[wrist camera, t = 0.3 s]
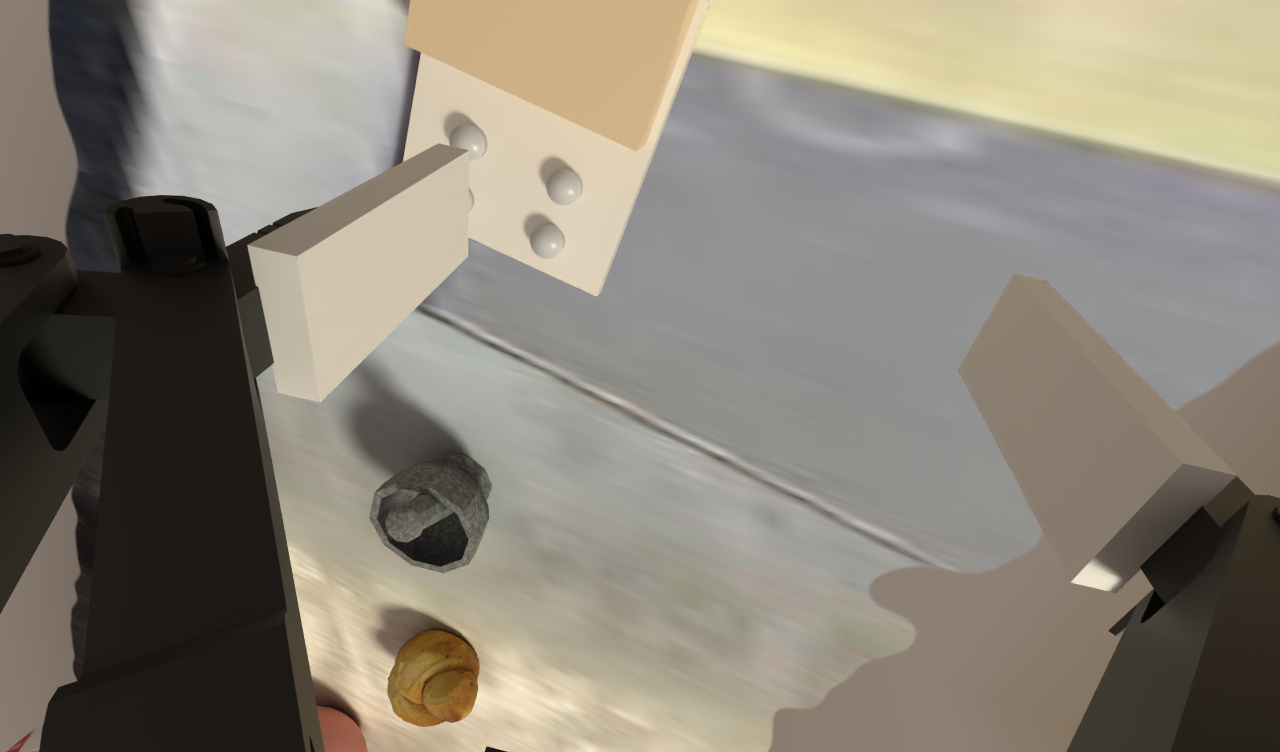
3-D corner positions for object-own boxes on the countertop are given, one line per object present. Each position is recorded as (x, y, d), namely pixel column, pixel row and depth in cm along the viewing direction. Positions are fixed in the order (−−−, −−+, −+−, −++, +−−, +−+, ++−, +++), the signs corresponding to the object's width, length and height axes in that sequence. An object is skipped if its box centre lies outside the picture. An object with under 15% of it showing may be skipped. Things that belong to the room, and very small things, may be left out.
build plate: (477, -216, 32) (437, -249, 29) (747, -92, 32) (742, -110, 29) (405, 200, 45) (371, 213, 41) (601, 290, 45) (584, 311, 41)
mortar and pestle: (493, 534, 59) (429, 636, 49) (406, 494, 59) (325, 586, 49) (524, 452, 53) (459, 548, 43) (428, 407, 53) (341, 492, 43)
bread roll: (454, 699, 74) (420, 765, 67) (388, 656, 73) (346, 719, 66) (503, 655, 68) (470, 723, 61) (431, 607, 67) (390, 671, 60)
